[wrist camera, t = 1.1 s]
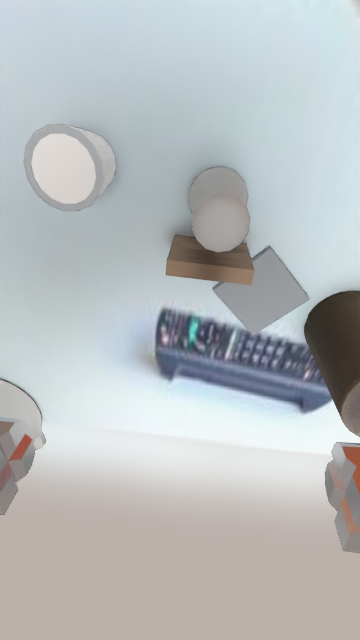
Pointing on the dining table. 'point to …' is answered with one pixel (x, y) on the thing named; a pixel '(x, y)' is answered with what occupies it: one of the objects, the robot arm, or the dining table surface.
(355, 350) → the pillar candle
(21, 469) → the robot arm
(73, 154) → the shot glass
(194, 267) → the walnut box
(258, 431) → the dining table surface
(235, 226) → the salt shaker
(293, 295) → the slate mat
